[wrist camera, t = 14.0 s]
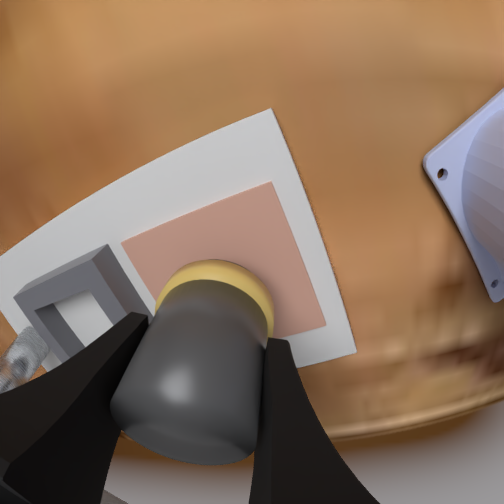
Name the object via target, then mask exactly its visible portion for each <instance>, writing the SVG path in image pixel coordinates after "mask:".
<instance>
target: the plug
mask: <svg viewBox="0 0 504 504" xmlns="http://www.w3.org/2000/svg"><path fill="white" fill-rule="evenodd" d="M273 328H274V303H273V300H272V297H271V295H270V293H269V291H268V289H267V288H266V286H265V285H264V284H263V282H262V281H261V280H260V279H259V278H258V277H256V276H255V275H254V274H253V273H252V272H250V271H249V270H247V269H246V268H244V267H242V266H240V265H238V264H236V263H233V262H230V261H226V260H219V259H208V260H199V261H195V262H191V263H189V264H186V265H184V266H182V267H181V268H179V269H178V270H177V271H175V272H174V273H173V274H172V276H171V277H170V278H169V280H168V281H167V283H166V285H165V286H164V288H163V290H162V291H161V293H160V295H159V297H158V299H157V301H156V305H155V316H154V317H153V319H152V321H151V323H150V325H149V327H148V329H147V331H146V332H145V334H144V336H143V338H142V340H141V342H140V344H139V346H138V348H137V350H136V351H135V353H134V355H133V357H132V359H131V361H130V363H129V365H128V367H127V369H126V371H125V373H124V375H123V377H122V379H121V381H120V383H119V385H118V387H117V389H116V391H115V393H114V395H113V397H112V399H111V402H110V411H111V414H112V417H113V419H114V420H115V422H116V423H117V425H118V426H119V427H120V428H121V429H122V430H123V431H124V432H125V433H126V434H127V435H128V436H129V437H130V438H132V439H133V440H134V441H136V442H137V443H139V444H141V445H142V446H144V447H146V448H147V449H149V450H151V451H153V452H156V453H158V454H160V455H163V456H165V457H168V458H171V459H174V460H178V461H182V462H186V463H192V464H200V465H223V464H230V463H235V462H238V461H241V460H243V459H245V458H247V457H248V456H249V455H251V454H252V453H253V451H254V450H255V448H256V444H257V435H258V426H259V416H260V407H261V397H262V386H263V370H264V360H265V350H266V345H267V341H268V337H270V338H272V336H273Z"/></svg>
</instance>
